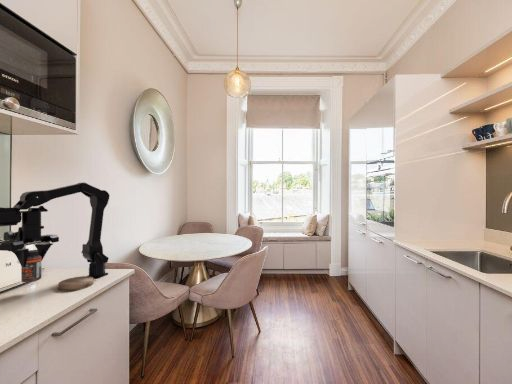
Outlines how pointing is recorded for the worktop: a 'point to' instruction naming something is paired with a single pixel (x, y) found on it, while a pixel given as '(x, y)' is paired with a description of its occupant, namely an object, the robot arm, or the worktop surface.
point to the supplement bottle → (32, 267)
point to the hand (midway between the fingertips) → (31, 264)
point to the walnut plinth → (75, 283)
